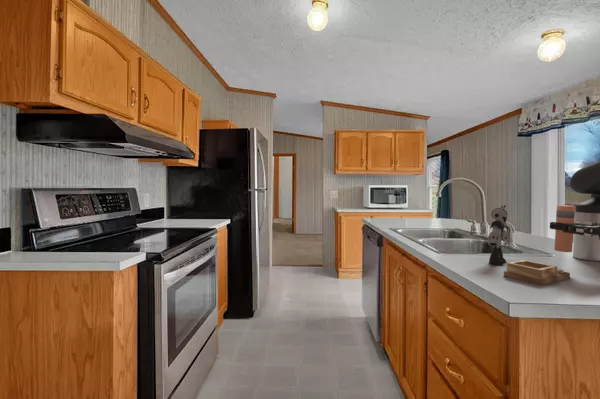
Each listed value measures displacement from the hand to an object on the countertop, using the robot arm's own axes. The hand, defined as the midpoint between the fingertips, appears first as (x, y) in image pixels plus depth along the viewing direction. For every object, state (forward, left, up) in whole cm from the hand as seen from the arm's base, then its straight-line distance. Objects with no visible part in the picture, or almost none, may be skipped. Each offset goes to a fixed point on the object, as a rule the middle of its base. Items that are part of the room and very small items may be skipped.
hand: (554, 224), depth 109 cm
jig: (+13, +2, -15) cm, 20 cm away
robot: (+6, -14, -15) cm, 21 cm away
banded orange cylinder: (0, +3, -8) cm, 8 cm away
